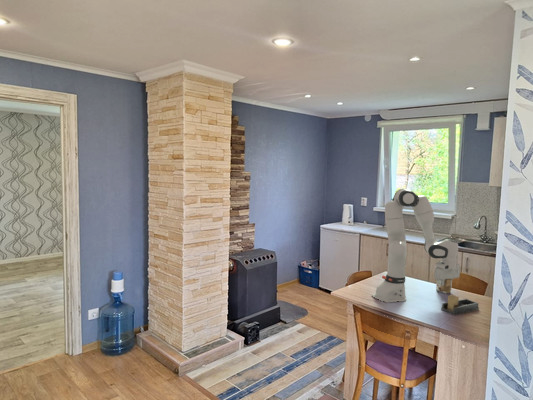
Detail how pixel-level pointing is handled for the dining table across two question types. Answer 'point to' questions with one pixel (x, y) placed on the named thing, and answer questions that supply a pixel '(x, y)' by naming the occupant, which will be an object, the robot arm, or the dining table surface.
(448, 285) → the brown wooden block
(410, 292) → the dining table surface
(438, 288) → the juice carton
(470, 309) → the grey tray with block
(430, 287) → the dining table surface
